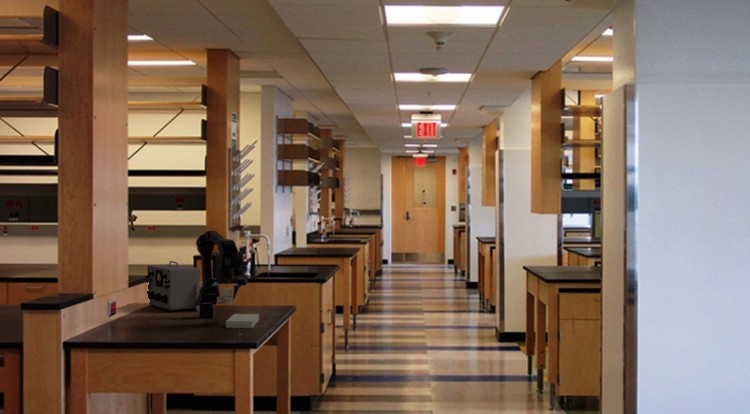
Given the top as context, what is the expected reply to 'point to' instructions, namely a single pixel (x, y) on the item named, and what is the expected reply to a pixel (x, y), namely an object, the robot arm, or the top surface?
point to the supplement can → (198, 287)
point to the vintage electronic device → (172, 286)
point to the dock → (242, 321)
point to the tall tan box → (225, 300)
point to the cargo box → (226, 292)
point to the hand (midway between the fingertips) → (226, 300)
